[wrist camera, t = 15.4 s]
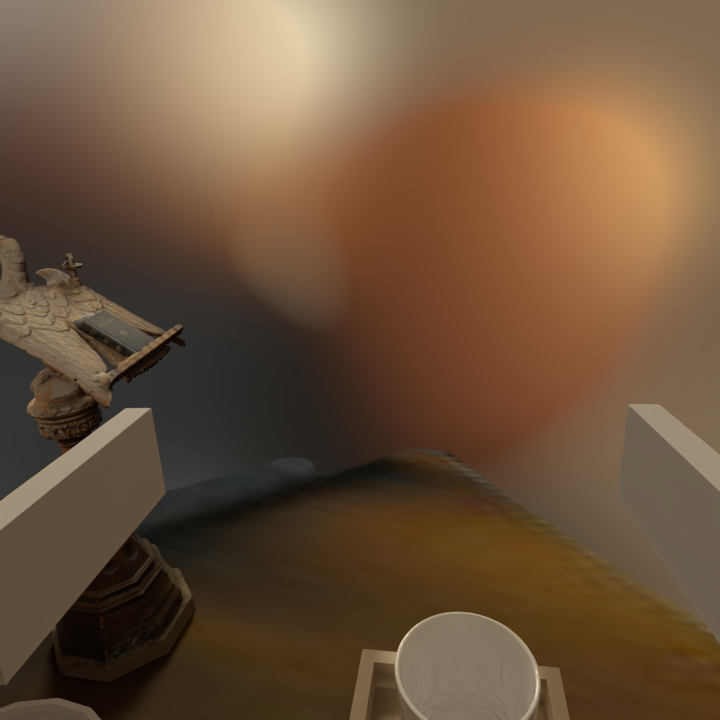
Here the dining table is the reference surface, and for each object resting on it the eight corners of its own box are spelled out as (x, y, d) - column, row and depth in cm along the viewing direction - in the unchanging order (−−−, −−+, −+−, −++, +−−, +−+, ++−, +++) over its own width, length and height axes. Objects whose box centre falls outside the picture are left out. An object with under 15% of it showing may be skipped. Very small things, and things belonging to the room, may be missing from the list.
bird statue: (266, 572, 53) (211, 209, 41) (211, 694, 41) (110, 230, 29) (116, 561, 56) (23, 219, 44) (23, 672, 44) (-140, 242, 32)
